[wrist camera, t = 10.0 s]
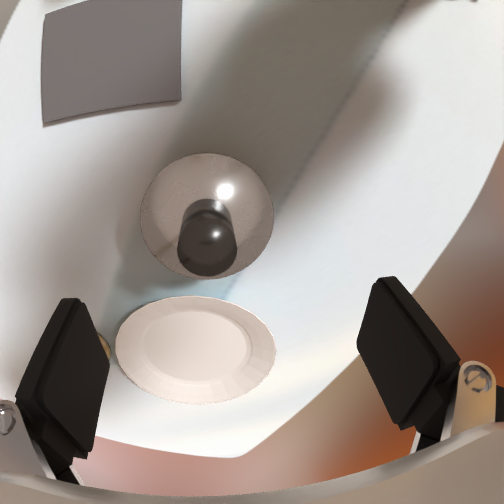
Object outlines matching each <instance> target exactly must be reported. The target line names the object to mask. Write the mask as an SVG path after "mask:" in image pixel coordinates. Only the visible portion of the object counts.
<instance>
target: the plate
mask: <svg viewBox="0 0 504 504" xmlns="http://www.w3.org/2000/svg"><path fill="white" fill-rule="evenodd" d="M115 353H116V356H117V359H118V362H119V365H120V366H121V368H122V369H123V371H124V372H125V373H126V375H127V376H128V377H129V378H130V379H131V380H132V381H133V382H134V383H135V384H136V385H138V386H139V387H140V388H142V389H144V390H146V391H147V392H149V393H151V394H153V395H155V396H158V397H160V398H163V399H166V400H169V401H174V402H179V403H185V404H211V403H218V402H222V401H227V400H231V399H233V398H236V397H238V396H241V395H243V394H246V393H247V392H249V391H250V390H252V389H253V388H255V387H256V386H258V385H259V384H260V383H261V382H262V381H263V380H264V379H265V378H266V377H267V376H268V374H269V372H270V370H271V369H272V367H273V365H274V362H275V356H276V346H275V341H274V337H273V336H272V334H271V332H270V330H269V329H268V327H267V325H266V324H265V323H264V322H263V321H261V320H260V319H259V318H258V317H257V316H256V315H255V314H254V313H252V312H250V311H248V310H246V309H244V308H243V307H241V306H239V305H237V304H235V303H231V302H228V301H224V300H221V299H218V298H214V297H203V296H193V295H189V296H179V297H169V298H165V299H162V300H158V301H155V302H152V303H149V304H147V305H145V306H143V307H142V308H140V309H138V310H137V311H135V312H133V313H132V314H131V315H130V316H129V317H128V318H127V319H126V320H125V322H124V323H123V324H122V325H121V327H120V329H119V332H118V334H117V336H116V342H115Z"/></svg>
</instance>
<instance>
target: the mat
mask: <svg viewBox="0 0 504 504" xmlns="http://www.w3.org/2000/svg"><path fill="white" fill-rule="evenodd" d="M181 20H182V0H87V1H84V2H80V3H77V4H74V5H71V6H68V7H65V8H62V9H59V10H56V11H53V12H51V13H48V14H45V22H44V32H43V47H42V107H43V123H46V122H50V121H54V120H58V119H62V118H66V117H71V116H75V115H80V114H84V113H89V112H94V111H100V110H105V109H111V108H117V107H124V106H130V105H138V104H145V103H154V102H163V101H174V100H181Z"/></svg>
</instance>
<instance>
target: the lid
mask: <svg viewBox="0 0 504 504" xmlns="http://www.w3.org/2000/svg"><path fill="white" fill-rule="evenodd" d="M140 223H141V230H142V234H143V237H144V240H145V242H146V244H147V246H148V248H149V250H150V251H151V252H152V254H153V255H154V256H155V257H156V258H157V259H158V261H159V262H161V263H162V264H163V265H164V266H166V267H167V268H169V269H170V270H172V271H174V272H176V273H178V274H180V275H183V276H186V277H190V278H194V279H219V278H223V277H227V276H230V275H233V274H235V273H237V272H239V271H241V270H243V269H244V268H246V267H247V266H249V265H250V264H251V263H252V262H254V261H255V260H256V259H257V258H258V256H259V255H260V254H261V253H262V251H263V250H264V249H265V247H266V245H267V243H268V241H269V239H270V236H271V233H272V229H273V223H274V210H273V204H272V200H271V197H270V194H269V192H268V190H267V188H266V186H265V185H264V183H263V182H262V180H261V179H260V178H259V176H258V175H257V174H256V173H255V172H254V171H253V170H252V169H251V168H249V167H248V166H247V165H245V164H244V163H242V162H240V161H239V160H236V159H234V158H232V157H229V156H225V155H222V154H215V153H201V154H194V155H190V156H186V157H183V158H181V159H179V160H177V161H175V162H173V163H171V164H170V165H168V166H167V167H166V168H164V169H163V170H162V171H161V172H160V173H159V174H158V175H157V176H156V177H155V179H154V180H153V181H152V183H151V184H150V186H149V188H148V190H147V191H146V193H145V196H144V199H143V201H142V206H141V213H140Z"/></svg>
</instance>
